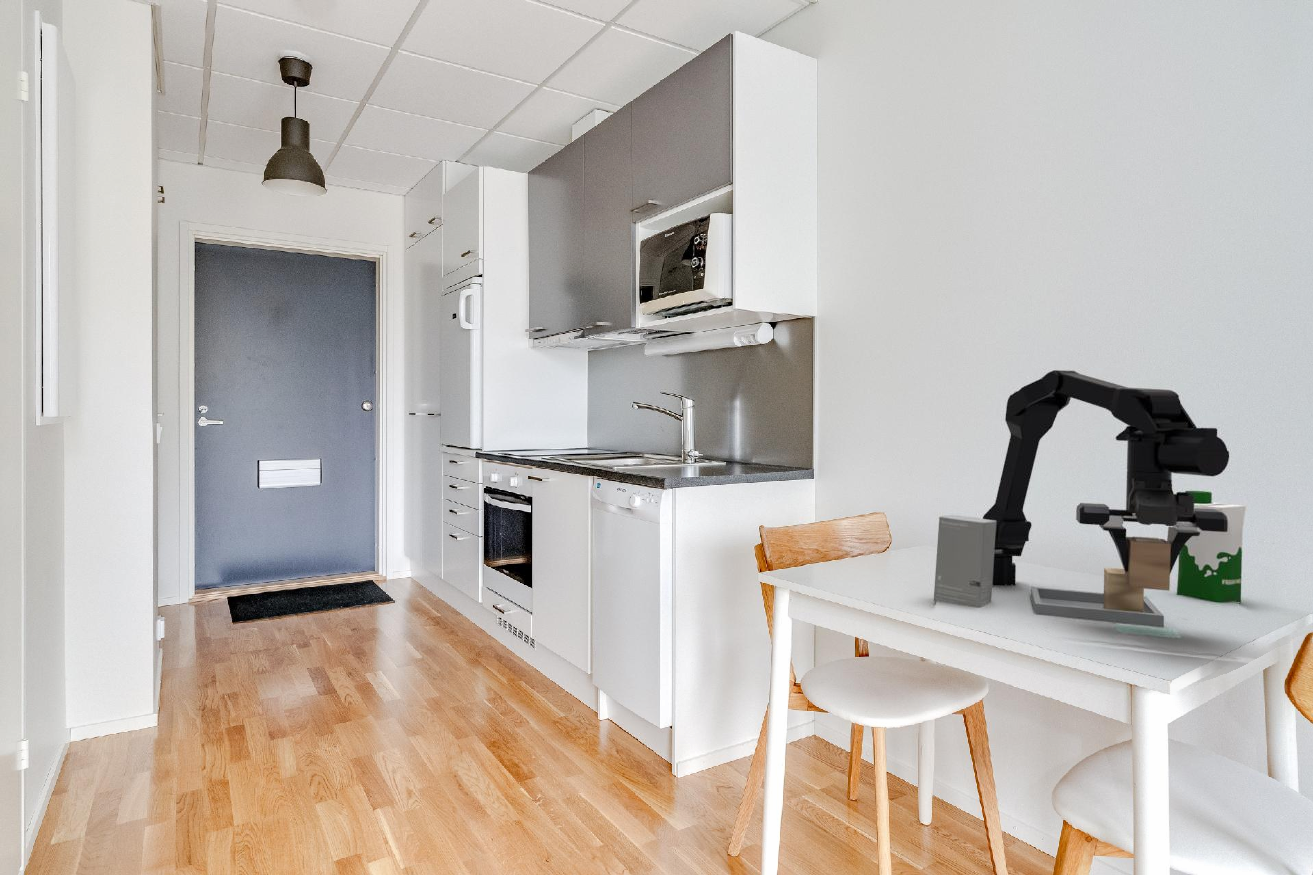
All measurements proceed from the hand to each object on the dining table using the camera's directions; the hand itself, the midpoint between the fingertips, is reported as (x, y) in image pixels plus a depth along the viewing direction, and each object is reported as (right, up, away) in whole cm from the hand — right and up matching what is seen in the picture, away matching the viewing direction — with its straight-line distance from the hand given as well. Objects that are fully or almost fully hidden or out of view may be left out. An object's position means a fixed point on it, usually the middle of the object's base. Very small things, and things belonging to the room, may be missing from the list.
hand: (1146, 572), depth 113 cm
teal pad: (0, -10, 0) cm, 10 cm away
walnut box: (0, -2, 0) cm, 2 cm away
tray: (-1, -9, +13) cm, 16 cm away
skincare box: (-20, -9, +19) cm, 29 cm away
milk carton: (+27, -10, +23) cm, 37 cm away
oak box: (+3, -9, +11) cm, 14 cm away
